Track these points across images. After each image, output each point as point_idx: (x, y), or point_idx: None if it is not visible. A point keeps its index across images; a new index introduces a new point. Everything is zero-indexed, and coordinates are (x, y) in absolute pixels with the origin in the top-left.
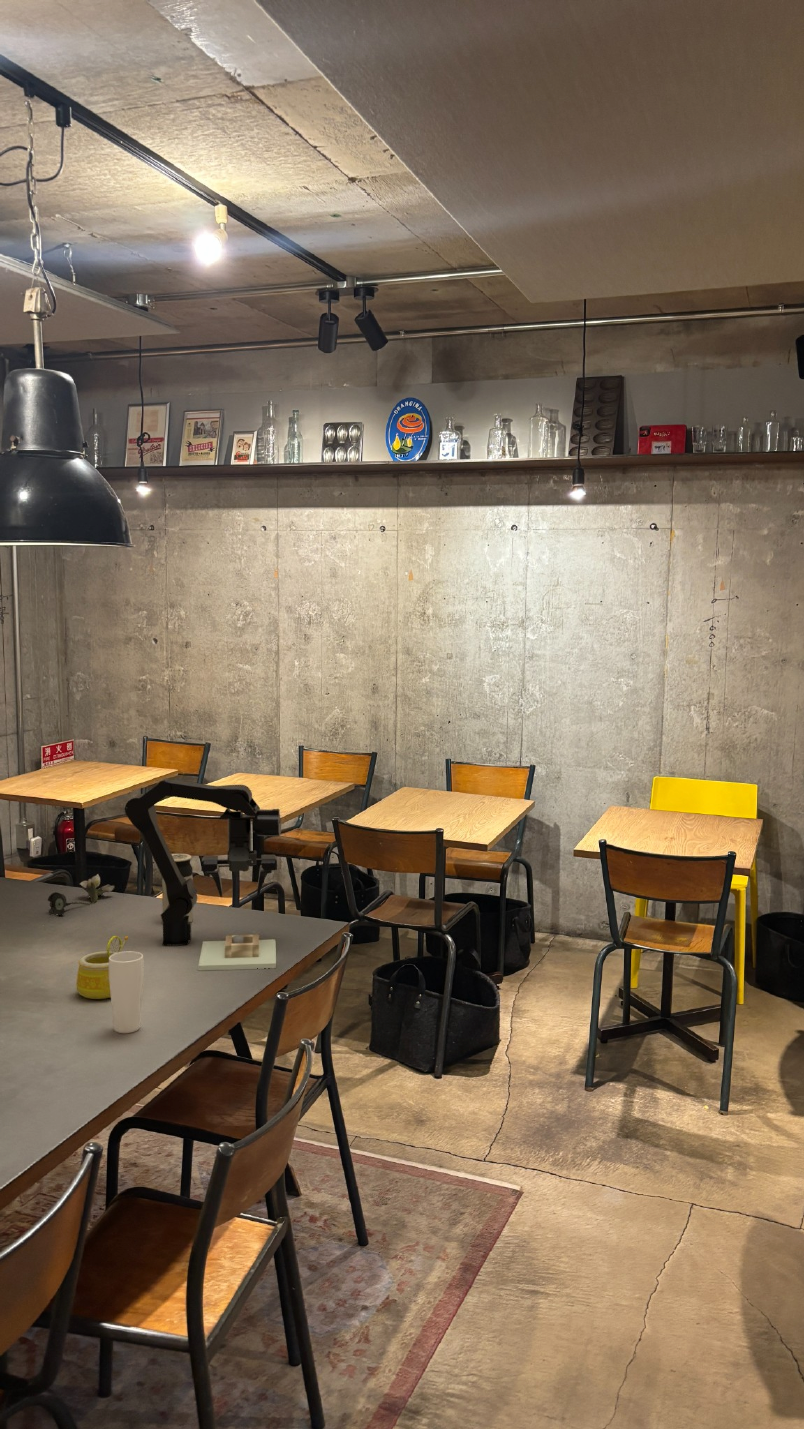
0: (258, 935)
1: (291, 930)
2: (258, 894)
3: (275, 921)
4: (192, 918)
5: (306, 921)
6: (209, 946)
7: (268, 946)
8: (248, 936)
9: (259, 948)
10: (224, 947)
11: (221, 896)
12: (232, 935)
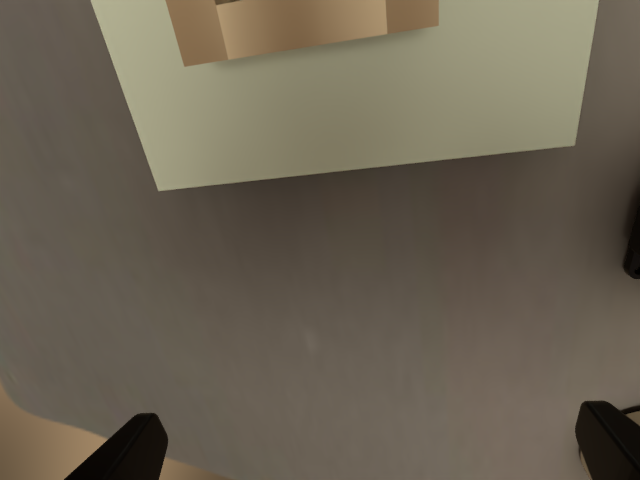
0: (178, 37)
1: (161, 351)
2: (128, 427)
3: (252, 434)
4: None
5: None
6: (540, 36)
7: (154, 59)
8: (249, 2)
9: None
10: None
11: (594, 405)
12: (384, 24)
